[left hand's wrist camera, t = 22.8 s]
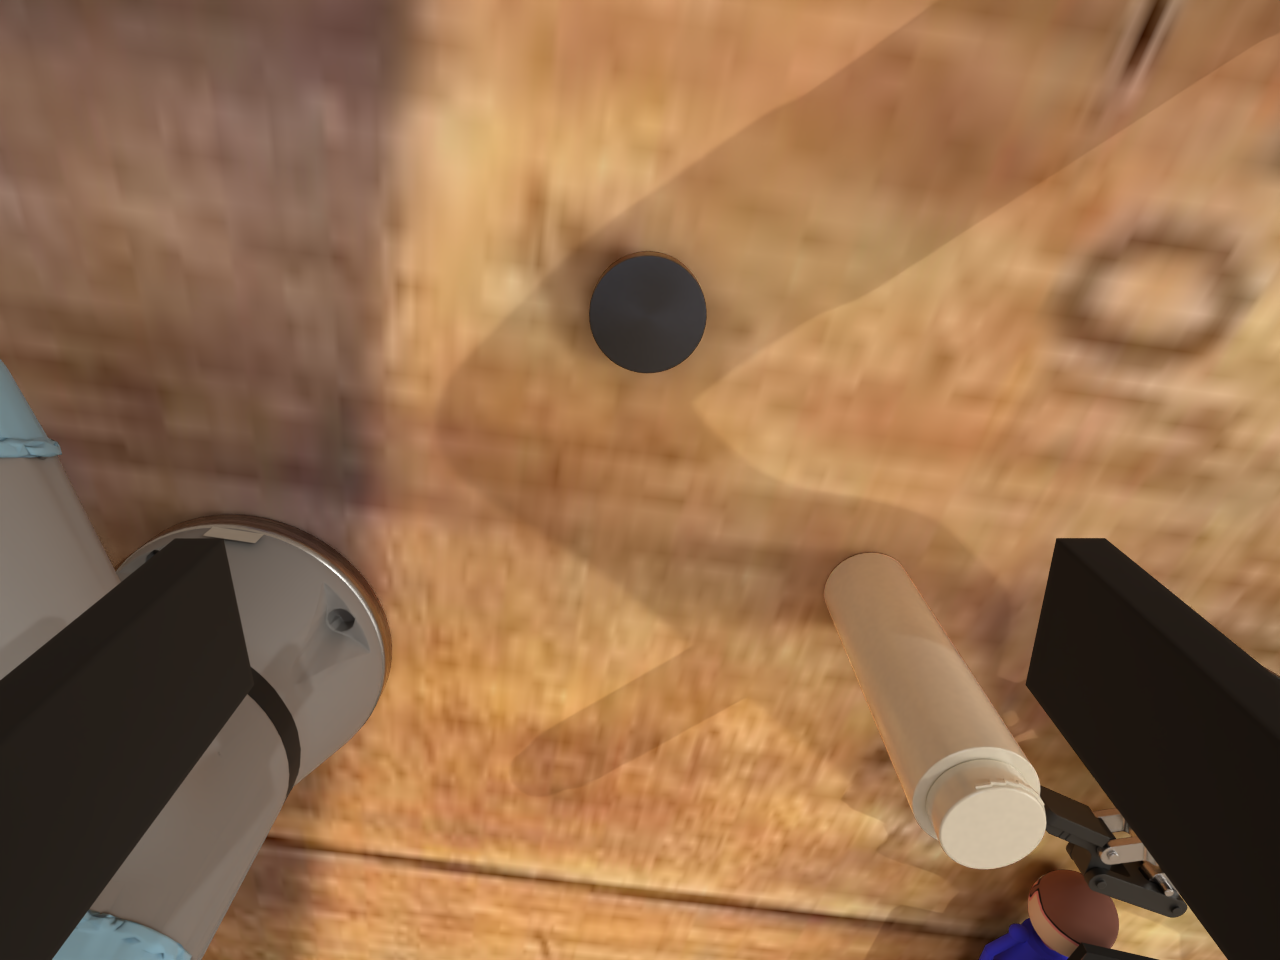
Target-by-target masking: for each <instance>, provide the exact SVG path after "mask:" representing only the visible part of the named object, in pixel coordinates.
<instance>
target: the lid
mask: <svg viewBox="0 0 1280 960" xmlns="http://www.w3.org/2000/svg"><path fill="white" fill-rule="evenodd" d="M589 319H590V326H591V330H592V334H593V337H594V339H595V341H596V343H597V344H598V346H599V348H600V349H601V350H602V352H603V353H604V354H605V355H606V356H607V357H608V358H609V359H610V360H611V361H613V362H614V363H616V364H617V365H619V366H621V367H623V368H625V369H628V370H630V371H634V372H639V373H656V372H662V371H665V370H668V369H670V368H673V367H675V366H677V365H678V364H680V363H681V362H683V361H684V360H685V359H686V358H688V357H689V356H690V354H691V353H692V352H693V351H694V350H695V348H696V347H697V345H698V344H699V342H700V340H701V338H702V335H703V333H704V329H705V325H706V303H705V299H704V295H703V293H702V290H701V288H700V286H699V284H698V282H697V280H696V278H695V277H694V275H693V274H692V273H691V271H690V270H689V269H688V268H687V267H686V266H685V265H684V264H682V263H681V262H680V261H678V260H677V259H675V258H673V257H671V256H668V255H666V254H663V253H659V252H651V251H647V252H637V253H633V254H630V255H627V256H625V257H623V258H620V259H619V260H617V261H616V262H614V263H613V264H612V265H611V266H610V267H608V269H607V270H606V271H605V272H604V273H603V274H602V276H601V277H600V279H599V281H598V283H597V285H596V287H595V290H594V292H593V295H592V298H591V303H590V310H589Z"/></svg>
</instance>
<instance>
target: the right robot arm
mask: <svg viewBox="0 0 1280 960" xmlns="http://www.w3.org/2000/svg"><path fill="white" fill-rule="evenodd" d="M1264 668H1265V667H1264ZM1265 669H1266V668H1265ZM1266 670H1268V669H1266ZM1268 671H1269V672H1270V673H1271V674H1273V675H1274V676H1275V677H1276V678H1278V679H1279V680H1280V676H1278V675H1277V674H1275V673H1273V672H1272V671H1270V670H1268ZM1040 798H1041V799H1042V801H1043V803H1044V808H1045V813H1046V829H1045V830H1046V831H1047V832H1048V833H1049V834H1052V835H1054V836H1056V837H1059V838H1061V839H1063V840H1066V841H1068V842H1069V843H1068V844H1067V846H1066V850H1067V852H1068V854H1069V855H1070V857H1071V859H1072V860H1074V862H1075V864H1076V865H1077V867H1078V868H1079V870H1080V872H1081V873H1082V875H1083V877H1084V879H1085V881H1086V883H1087V885H1088V886H1089V888H1090V889H1091V890H1093V891H1095V892H1098V893H1101V894H1104V895H1107V896H1110V897H1113V898H1116V899H1118V900H1121V901H1124V902H1127V903H1130V904H1133V905H1136V906H1139V907H1142V908H1144V909H1147V910H1150V911H1153V912H1156V913H1159V914H1162V915H1165V916H1168V917H1178V916H1181V915H1182V914H1184V913H1185V912H1186V910H1187V905H1186V903H1185V902H1184V901H1183V899H1182V898H1181V897H1180V895H1179V892H1178V891H1177V890H1176V888H1175V887H1174V886H1173V884H1172V883H1171V882H1170V880H1169V879H1168V877H1167V876H1166V875H1165V873H1164V872H1163V871H1162V869H1161V868H1160V867H1159V865H1158V864H1157V863H1156V861H1155V860H1154V858H1153V857H1152V856H1151V854H1150V853H1149V852H1148V850H1147V849H1146V848H1145V846H1144V845H1143V843H1142V842H1141V841H1140V839H1139V838H1138V837H1137V835H1136V834H1135V833H1134V831H1133V830H1132V829H1131V827H1130V826H1129V824H1128V823H1127V822H1126V820H1125V819H1124V818H1123V816H1122V815H1121V814H1120V812H1119V811H1118V810H1117V808H1113V809H1106V810H1099V811H1091V809H1090V808H1089V807H1088V806H1086V805H1084V804H1082V803H1080V802H1077V801H1075V800H1073V799H1070V798H1068V797H1066V796H1063V795H1061V794H1059V793H1057V792H1054V791H1052V790H1050V789H1047V788H1045V787H1043V786H1040ZM1119 831H1125V832H1127V833H1129V834H1130V835H1131V837H1128V838H1121V839H1116V838H1115V836H1114V835H1113V834H1112V832H1119Z"/></svg>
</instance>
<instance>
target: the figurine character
mask: <svg viewBox="0 0 1280 960" xmlns="http://www.w3.org/2000/svg"><path fill="white" fill-rule="evenodd" d="M1028 913H1029V917H1030V918H1028V919H1026V920H1025V921H1024V922H1023V923H1022V924H1021V925H1020V924H1017V923H1015V924H1012V925H1011V926H1010V927H1009V933H1007V934H1005V935H1003V936H1001V937H999V938H998V939H996V940H994V941H992V942H990V943H988V944H986V945H985V947H984V949H983V951H982V954H981V956H980V958H979V960H1158V959H1153V958H1149V957H1145V956H1140V955H1136V954H1131V953H1127V952H1122V951H1118V950H1114V949H1110V948H1111V947H1112V946H1113V944H1114V942H1115V941H1116V938H1117V935H1118V930H1119V919H1118V914H1117V910H1116V907H1115V905H1114V903H1113V901H1112V899H1111V898H1110V896H1107V895H1104V894H1101V893H1098V892H1095V891H1093V890H1091V889H1090V888H1089V886H1088V885H1087V883H1086V881H1085V879H1084V877H1083V875H1082V873H1079V872H1076V871H1071V870H1055V871H1051V872H1048V873H1046V874H1044V875H1043V876H1041V877H1040V878H1039V879H1038V880H1037V881H1036V882H1035V883H1034V885H1033V886H1032V888H1031V890H1030V893H1029V897H1028Z"/></svg>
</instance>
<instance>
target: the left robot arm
mask: <svg viewBox="0 0 1280 960" xmlns="http://www.w3.org/2000/svg"><path fill="white" fill-rule="evenodd" d="M57 455H62V452H61V448H60V446H59V444H58V442H56V441H54V440H52V439H50V438H48V437H47V435H46V434H45V432H44V430H43V428H42V427H41V425H40V423H39V422H38V420H37V418H36V416H35V415H34V413H33V411H32V409H31V408H30V406H29V404H28V403H27V401H26V399H25V397H24V396H23V394H22V392H21V391H20V389H19V387H18V385H17V384H16V382H15V380H14V379H13V377H12V375H11V373H10V372H9V370H8V368H7V367H6V366H5V364H4V363H3V362H2V361H1V359H0V960H201V959H202V957H203V956H204V954H205V952H206V950H207V948H208V946H209V944H210V942H211V940H212V939H213V937H214V935H215V933H216V931H217V929H218V927H219V925H220V923H221V921H222V920H223V918H224V916H225V914H226V912H227V910H228V908H229V906H230V904H231V903H232V901H233V899H234V897H235V895H236V893H237V891H238V889H239V887H240V886H241V884H242V882H243V880H244V878H245V876H246V874H247V872H248V870H249V869H250V867H251V865H252V863H253V861H254V859H255V857H256V855H257V853H258V852H259V850H260V848H261V846H262V844H263V842H264V840H265V838H266V836H267V835H268V833H269V831H270V829H271V827H272V825H273V823H274V821H275V819H276V818H277V816H278V814H279V812H280V810H281V808H282V806H283V804H284V802H285V800H286V798H287V797H288V795H289V793H290V791H291V790H292V788H293V787H294V786H295V785H296V784H297V783H298V782H300V781H301V780H302V779H303V778H304V777H306V776H307V775H308V774H309V773H311V772H312V771H313V770H314V769H315V768H317V767H318V766H319V765H320V764H321V763H323V762H324V761H325V760H326V759H327V758H329V757H330V756H331V755H332V754H334V753H335V752H336V751H337V750H338V749H340V748H341V747H342V746H343V745H344V744H346V743H347V742H348V741H349V740H350V739H351V738H352V737H353V736H354V735H355V734H356V733H357V732H358V730H359V729H360V728H361V727H362V726H363V725H364V724H365V722H366V721H367V720H368V718H369V717H370V715H371V713H372V712H373V710H374V708H375V706H376V704H377V702H378V700H379V698H380V696H381V694H382V692H383V690H384V687H385V685H386V682H387V679H388V676H389V672H390V667H391V659H392V644H391V635H390V631H389V626H388V622H387V619H386V616H385V613H384V611H383V609H382V607H381V604H380V602H379V600H378V598H377V597H376V595H375V593H374V592H373V590H372V588H371V587H370V586H369V584H368V583H367V581H366V580H365V579H364V578H363V576H362V575H361V574H360V573H359V572H358V571H357V569H356V568H355V567H354V566H353V565H352V564H351V563H350V562H348V561H347V560H346V559H345V558H344V557H343V556H342V555H340V554H339V553H338V552H337V551H336V550H334V549H333V548H331V547H330V546H328V545H327V544H325V543H324V542H323V541H321V540H319V539H317V538H316V537H314V536H312V535H310V534H308V533H306V532H304V531H302V530H300V529H297V528H295V527H292V526H290V525H287V524H284V523H281V522H278V521H274V520H270V519H266V518H261V517H256V516H247V515H228V514H225V515H212V516H206V517H200V518H196V519H192V520H188V521H185V522H182V523H180V524H177V525H175V526H172V527H170V528H168V529H167V530H165V531H163V532H161V533H160V534H158V535H157V536H155V537H154V538H152V539H151V540H150V541H148V542H147V543H146V544H144V545H143V546H142V547H141V548H139V549H138V550H137V551H135V552H134V553H133V554H132V555H131V556H130V557H129V558H127V559H126V560H125V561H124V563H123V564H122V565H121V566H120V567H119V568H118V570H117V571H115V569H114V567H113V565H112V563H111V561H110V560H109V558H108V556H107V554H106V552H105V550H104V548H103V546H102V544H101V542H100V540H99V538H98V536H97V534H96V532H95V530H94V528H93V526H92V524H91V522H90V520H89V518H88V516H87V514H86V512H85V510H84V508H83V506H82V504H81V502H80V500H79V498H78V496H77V494H76V492H75V490H74V488H73V486H72V484H71V482H70V480H69V478H68V477H67V475H66V473H65V471H64V469H63V467H62V464H61V462H60V460H59V458H58V456H57ZM1026 686H1027V687H1028V689H1029V690H1030V691H1031V693H1032V694H1033V695H1034V697H1035V698H1036V699H1037V701H1038V702H1039V704H1040V705H1041V706H1042V708H1043V709H1044V710H1045V712H1046V713H1047V714H1048V716H1049V717H1050V718H1051V720H1052V721H1053V723H1054V724H1055V725H1056V727H1057V728H1058V729H1059V731H1060V732H1061V733H1062V735H1063V736H1064V737H1065V739H1066V740H1067V742H1068V743H1069V744H1070V746H1071V747H1072V748H1073V750H1074V751H1075V752H1076V754H1077V755H1078V757H1079V758H1080V759H1081V761H1082V762H1083V763H1084V765H1085V766H1086V767H1087V769H1088V770H1089V771H1090V773H1091V774H1092V776H1093V777H1094V778H1095V780H1096V781H1097V782H1098V784H1099V785H1100V786H1101V788H1102V789H1103V790H1104V792H1105V793H1106V795H1107V796H1108V797H1109V799H1110V800H1111V801H1112V803H1113V804H1114V805H1115V807H1116V808H1117V810H1118V811H1119V812H1120V814H1121V815H1122V816H1123V818H1124V819H1125V820H1126V822H1127V823H1128V824H1129V826H1130V827H1131V829H1132V830H1133V831H1134V833H1135V834H1136V835H1137V837H1138V838H1139V839H1140V841H1141V842H1142V843H1143V845H1144V846H1145V848H1146V849H1147V850H1148V852H1149V853H1150V854H1151V856H1152V857H1153V858H1154V860H1155V861H1156V863H1157V864H1158V865H1159V867H1160V868H1161V869H1162V871H1163V872H1164V873H1165V875H1166V876H1167V877H1168V879H1169V880H1170V882H1171V883H1172V884H1173V886H1174V887H1175V888H1176V890H1177V891H1178V892H1179V894H1180V895H1181V896H1182V898H1183V899H1184V901H1185V902H1186V903H1187V905H1188V906H1189V907H1190V909H1191V910H1192V911H1193V913H1194V914H1195V916H1196V917H1197V918H1198V920H1199V921H1200V922H1201V924H1202V925H1203V926H1204V928H1205V929H1206V930H1207V932H1208V933H1209V935H1210V936H1211V937H1212V939H1213V940H1214V941H1215V943H1216V944H1217V945H1218V947H1219V948H1220V949H1221V951H1222V952H1223V954H1224V955H1225V956H1226V958H1227V959H1228V960H1280V680H1279V679H1278V678H1276V677H1275V676H1274V675H1273V674H1271V673H1270V672H1269V671H1268V670H1266V669H1265V668H1264V667H1263V666H1262V665H1260V664H1259V663H1258V662H1257V661H1255V660H1254V659H1253V658H1252V657H1250V656H1249V655H1248V654H1247V653H1246V652H1244V651H1243V650H1242V649H1241V648H1239V647H1238V646H1237V645H1236V644H1234V643H1233V642H1232V641H1231V640H1230V639H1228V638H1227V637H1226V636H1225V635H1223V634H1222V633H1221V632H1220V631H1218V630H1217V629H1216V628H1215V627H1214V626H1212V625H1211V624H1210V623H1209V622H1207V621H1206V620H1205V619H1204V618H1202V617H1201V616H1200V615H1199V614H1198V613H1196V612H1195V611H1194V610H1193V609H1191V608H1190V607H1189V606H1188V605H1186V604H1185V603H1184V602H1183V601H1182V600H1180V599H1179V598H1178V597H1177V596H1175V595H1174V594H1173V593H1172V592H1170V591H1169V590H1168V589H1167V588H1166V587H1164V586H1163V585H1162V584H1161V583H1159V582H1158V581H1157V580H1156V579H1154V578H1153V577H1152V576H1151V575H1150V574H1148V573H1147V572H1146V571H1145V570H1143V569H1142V568H1141V567H1140V566H1138V565H1137V564H1136V563H1135V562H1134V561H1132V560H1131V559H1130V558H1129V557H1127V556H1126V555H1125V554H1124V553H1122V552H1121V551H1120V550H1119V549H1118V548H1116V547H1115V546H1114V545H1113V544H1111V543H1110V542H1109V541H1108V540H1106V539H1105V538H1056V543H1055V548H1054V552H1053V557H1052V562H1051V567H1050V571H1049V576H1048V581H1047V586H1046V590H1045V595H1044V600H1043V605H1042V609H1041V614H1040V619H1039V624H1038V628H1037V633H1036V638H1035V643H1034V647H1033V652H1032V657H1031V662H1030V666H1029V671H1028V676H1027V681H1026Z"/></svg>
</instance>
